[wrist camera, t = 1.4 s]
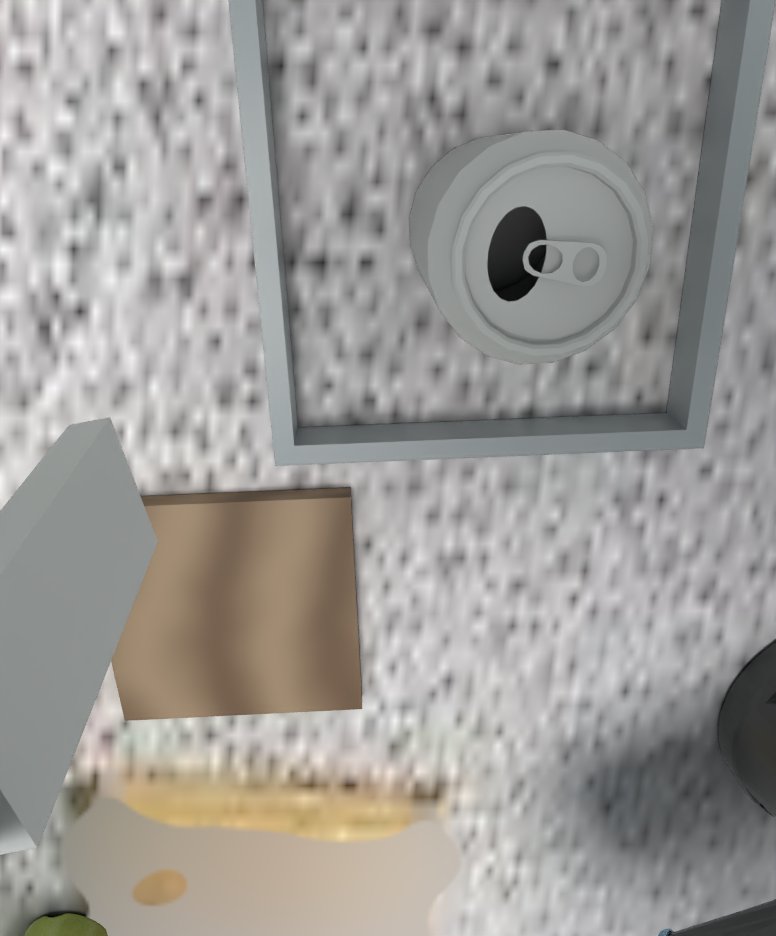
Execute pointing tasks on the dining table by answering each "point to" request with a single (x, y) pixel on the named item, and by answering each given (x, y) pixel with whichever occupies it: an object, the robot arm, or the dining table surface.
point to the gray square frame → (678, 428)
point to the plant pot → (65, 926)
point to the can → (532, 242)
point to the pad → (244, 608)
